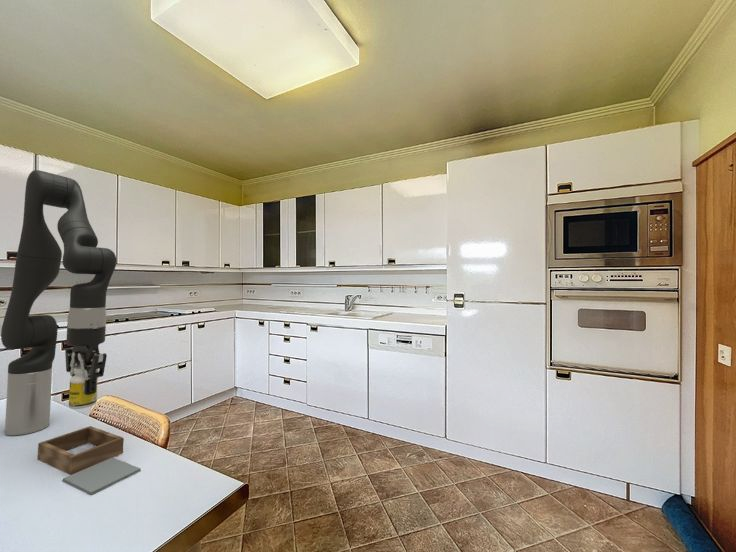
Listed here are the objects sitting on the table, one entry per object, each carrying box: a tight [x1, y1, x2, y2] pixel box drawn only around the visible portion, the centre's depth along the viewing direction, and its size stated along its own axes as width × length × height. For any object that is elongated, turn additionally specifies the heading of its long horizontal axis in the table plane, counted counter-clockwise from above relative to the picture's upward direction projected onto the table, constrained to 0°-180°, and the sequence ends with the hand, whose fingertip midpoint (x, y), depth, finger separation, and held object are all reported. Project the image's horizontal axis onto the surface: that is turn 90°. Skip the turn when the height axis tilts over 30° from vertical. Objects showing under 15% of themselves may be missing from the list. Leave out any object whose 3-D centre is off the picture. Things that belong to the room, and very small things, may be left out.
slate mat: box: [62, 457, 141, 496], centre depth 76 cm, size 11×10×1 cm
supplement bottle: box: [68, 365, 99, 410], centre depth 84 cm, size 5×5×10 cm
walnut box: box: [36, 425, 125, 476], centre depth 84 cm, size 15×11×4 cm
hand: (83, 391), depth 84 cm, fingers closed on supplement bottle, 5 cm apart
